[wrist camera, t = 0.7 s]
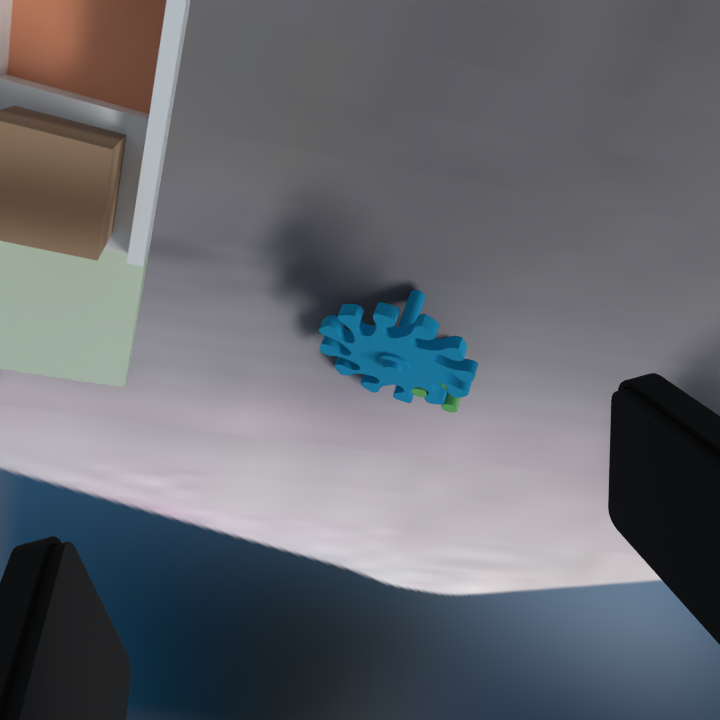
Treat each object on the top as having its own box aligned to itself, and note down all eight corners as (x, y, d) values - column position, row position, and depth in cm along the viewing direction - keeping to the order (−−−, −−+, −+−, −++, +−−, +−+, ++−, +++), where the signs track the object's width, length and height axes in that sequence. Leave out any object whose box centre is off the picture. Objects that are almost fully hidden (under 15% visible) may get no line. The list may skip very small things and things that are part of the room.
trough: (9, -200, 28) (-25, -240, 24) (210, -121, 30) (209, -146, 26) (-24, 340, 37) (-53, 375, 33) (130, 364, 40) (121, 400, 36)
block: (14, 105, 30) (-20, 115, 26) (126, 135, 31) (112, 149, 27) (7, 209, 32) (-26, 235, 27) (112, 232, 33) (97, 260, 29)
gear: (282, 334, 39) (408, 309, 32) (315, 261, 42) (438, 224, 35) (387, 423, 46) (511, 417, 39) (410, 354, 48) (530, 338, 41)
